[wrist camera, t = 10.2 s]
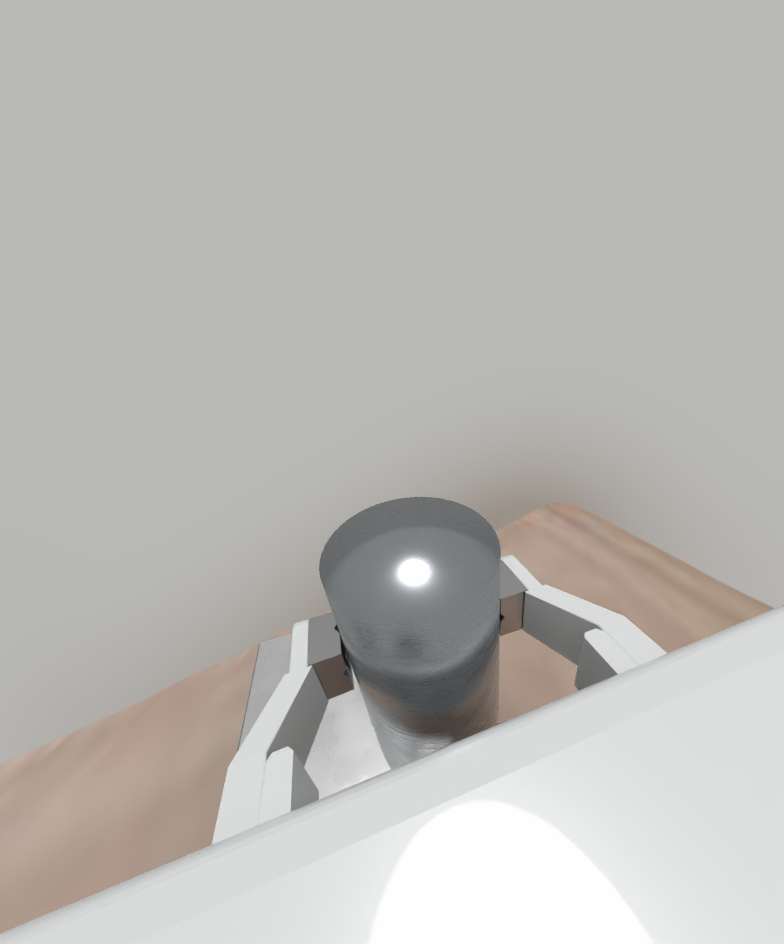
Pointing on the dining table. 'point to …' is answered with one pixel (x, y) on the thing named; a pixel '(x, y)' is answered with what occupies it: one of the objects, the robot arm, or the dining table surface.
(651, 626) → the dining table surface
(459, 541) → the cylinder
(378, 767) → the kitchen scale
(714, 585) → the dining table surface
